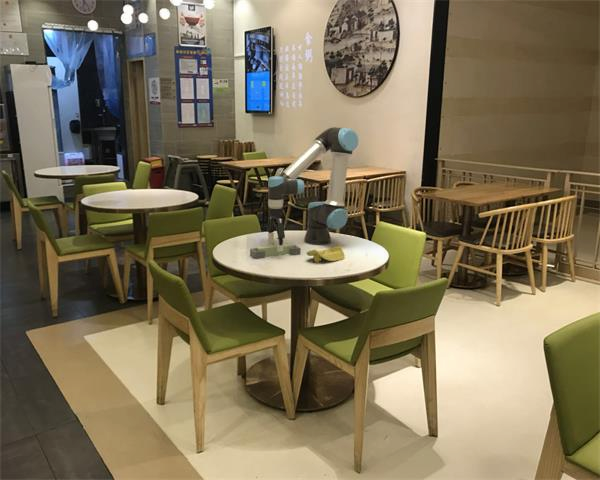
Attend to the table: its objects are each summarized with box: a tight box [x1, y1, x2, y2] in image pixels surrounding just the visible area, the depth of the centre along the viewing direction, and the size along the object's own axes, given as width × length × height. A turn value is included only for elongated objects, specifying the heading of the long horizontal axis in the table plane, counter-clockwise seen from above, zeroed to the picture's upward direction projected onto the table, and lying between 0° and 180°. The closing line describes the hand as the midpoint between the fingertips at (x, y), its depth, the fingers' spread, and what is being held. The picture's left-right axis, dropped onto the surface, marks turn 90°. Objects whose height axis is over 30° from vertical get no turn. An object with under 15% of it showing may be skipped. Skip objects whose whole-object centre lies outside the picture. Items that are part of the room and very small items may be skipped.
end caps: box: [249, 244, 301, 260], centre depth 267 cm, size 25×7×4 cm, turn 113°
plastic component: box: [306, 245, 345, 263], centre depth 259 cm, size 20×7×10 cm
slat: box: [255, 243, 295, 258], centre depth 266 cm, size 20×4×5 cm, turn 116°
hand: (275, 247), depth 266 cm, fingers open, 13 cm apart
